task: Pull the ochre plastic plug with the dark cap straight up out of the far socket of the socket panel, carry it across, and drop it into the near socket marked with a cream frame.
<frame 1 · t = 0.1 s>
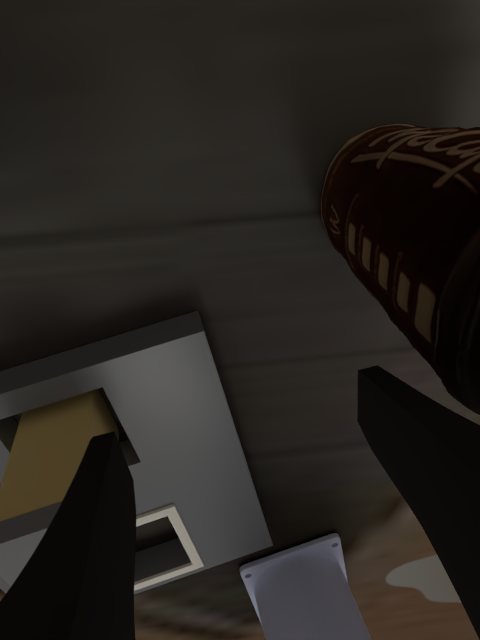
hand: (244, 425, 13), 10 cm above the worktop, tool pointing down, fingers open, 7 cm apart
coffee cup: (379, 195, 22), on the worktop
plug: (74, 416, 24), resting in socket panel
socket panel: (109, 476, 26), on the worktop
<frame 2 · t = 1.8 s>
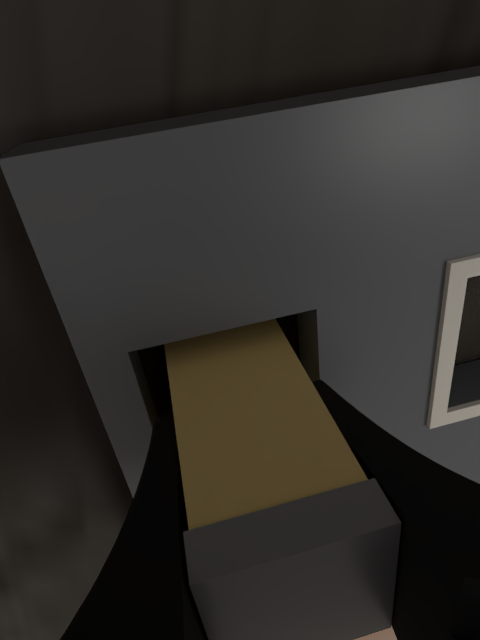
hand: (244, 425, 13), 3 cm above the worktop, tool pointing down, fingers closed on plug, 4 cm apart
plug: (225, 364, 16), resting in socket panel, touching gripper
socket panel: (360, 333, 16), on the worktop
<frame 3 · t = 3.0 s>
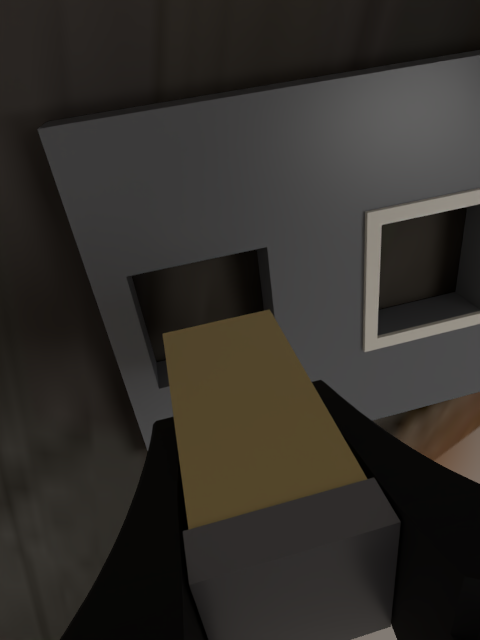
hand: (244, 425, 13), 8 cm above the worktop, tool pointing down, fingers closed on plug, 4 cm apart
plug: (224, 364, 16), point 5 cm above the worktop, touching gripper
socket panel: (309, 276, 20), on the worktop
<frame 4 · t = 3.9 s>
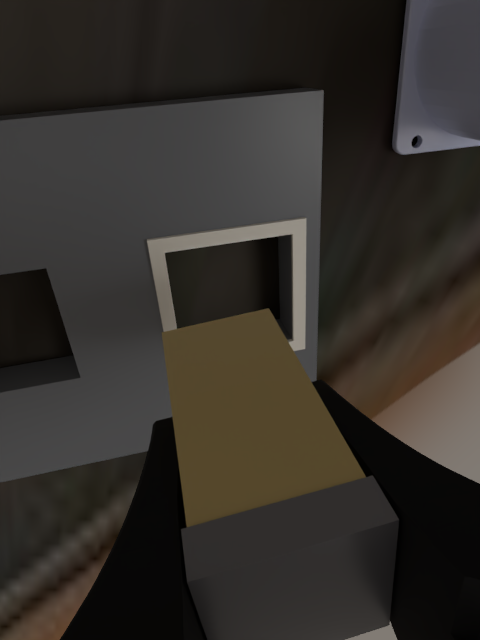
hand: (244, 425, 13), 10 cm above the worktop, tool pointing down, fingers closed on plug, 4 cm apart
plug: (224, 363, 16), point 7 cm above the worktop, touching gripper
socket panel: (120, 297, 21), on the worktop
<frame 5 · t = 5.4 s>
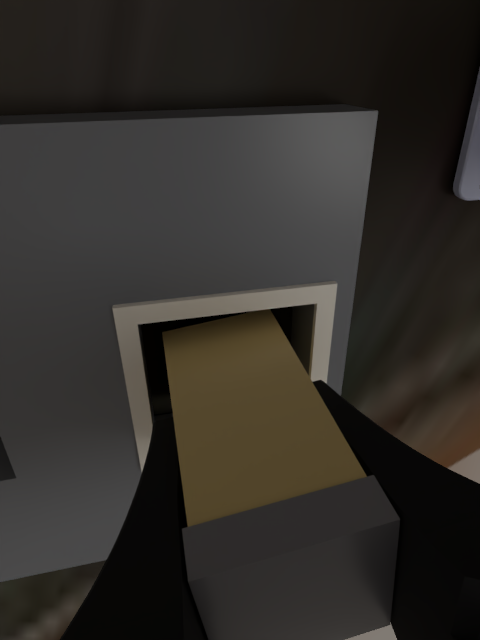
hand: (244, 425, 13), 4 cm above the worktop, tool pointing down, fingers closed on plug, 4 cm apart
plug: (224, 363, 16), point 1 cm above the worktop, touching gripper
socket panel: (78, 367, 16), on the worktop
when the fingers open (4 cm above the worktop, at t = 6.3 s): plug stays where it is, resting in socket panel.
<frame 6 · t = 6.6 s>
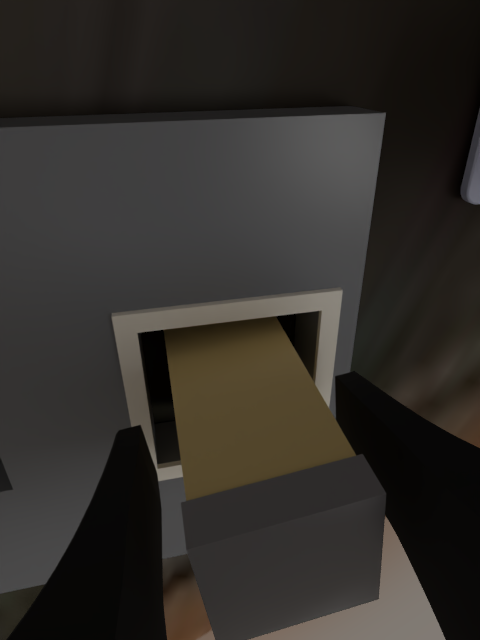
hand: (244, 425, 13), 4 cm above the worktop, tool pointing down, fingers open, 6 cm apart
plug: (223, 354, 16), resting in socket panel
socket panel: (76, 375, 15), on the worktop
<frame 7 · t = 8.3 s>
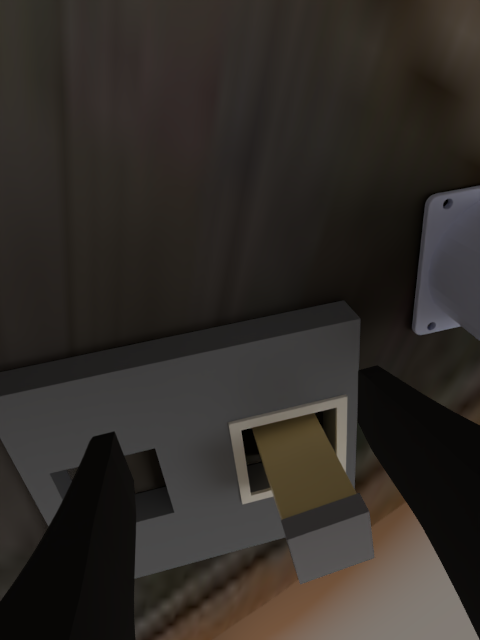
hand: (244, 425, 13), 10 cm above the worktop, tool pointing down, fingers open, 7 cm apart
plug: (281, 425, 27), resting in socket panel
socket panel: (201, 446, 27), on the worktop
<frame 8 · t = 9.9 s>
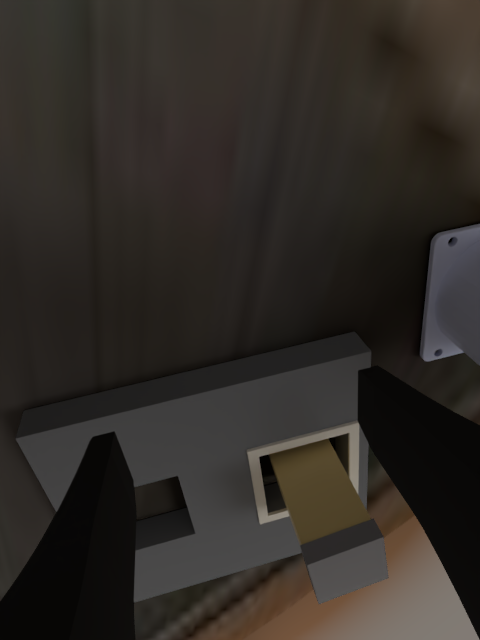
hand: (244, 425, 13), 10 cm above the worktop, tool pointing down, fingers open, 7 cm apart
plug: (295, 448, 29), resting in socket panel
socket panel: (219, 469, 28), on the worktop
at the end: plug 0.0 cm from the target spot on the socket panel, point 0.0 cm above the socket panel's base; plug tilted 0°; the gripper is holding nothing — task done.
